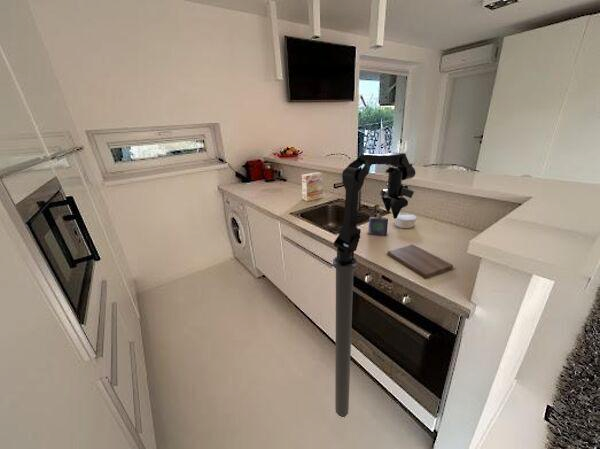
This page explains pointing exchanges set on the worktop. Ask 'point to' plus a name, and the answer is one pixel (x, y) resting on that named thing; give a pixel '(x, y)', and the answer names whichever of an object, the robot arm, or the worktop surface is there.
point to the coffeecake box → (312, 186)
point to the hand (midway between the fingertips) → (391, 215)
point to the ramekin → (405, 220)
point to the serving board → (420, 260)
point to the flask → (378, 225)
